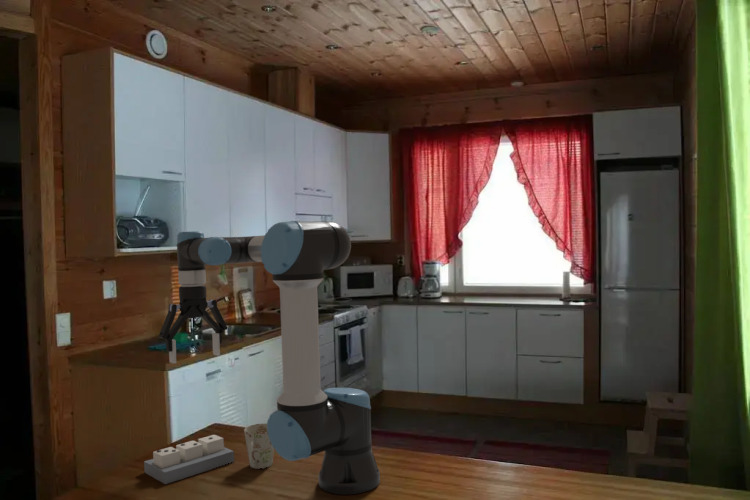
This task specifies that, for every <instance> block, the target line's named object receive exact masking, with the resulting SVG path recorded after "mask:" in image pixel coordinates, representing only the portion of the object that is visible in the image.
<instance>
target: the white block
mask: <svg viewBox="0 0 750 500" xmlns="http://www.w3.org/2000/svg"><path fill="white" fill-rule="evenodd" d="M197 442H198V443H200V444H202V449H203V453H204V454H206V455H209V454H212V453H215V452H218V451H222V450H224V447H225V444H224V437H221V436H219V435H217V434H211V435H208V436H205V437H201V438H197Z"/></svg>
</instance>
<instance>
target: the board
mask: <svg viewBox="0 0 750 500" xmlns="http://www.w3.org/2000/svg"><path fill="white" fill-rule="evenodd" d="M231 462H232V463H235V451H234V450H232V449H230V448H227V447H225V446H224V450H222V451H218V452H215V453H212V454H209V455H206V454H204V453H203V456H202V457H199V458H195V459H192V460H189V461H186V462H185V461H183V460H181V459H180V463H179V464H176V465H172V466H169V467H166V468H163V469H161V468H159V467H157V466H155V465H154V461H153V458H151V459H148V460H145V461H143V464H144V465H143V466H144V467H143V469H144V473H145V474H146V475H148V476H150V477H152V478H153V479H155V480H156V481H159V482H160V483H162V484H164V485H167V484H168V485H169V484H171V483H174V482H176V481H179V480H180V481H181V480H183V479H186V478H188V477H192V476H195V475H198V474H202V473H204V472H208V471H211V470H214V469H216V467H217V468H220V467H223V466H226V465H229V464H232V463H231ZM228 463H229V464H228ZM225 464H226V465H225ZM222 465H223V466H222ZM219 466H220V467H219ZM213 468H214V469H213Z"/></svg>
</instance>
